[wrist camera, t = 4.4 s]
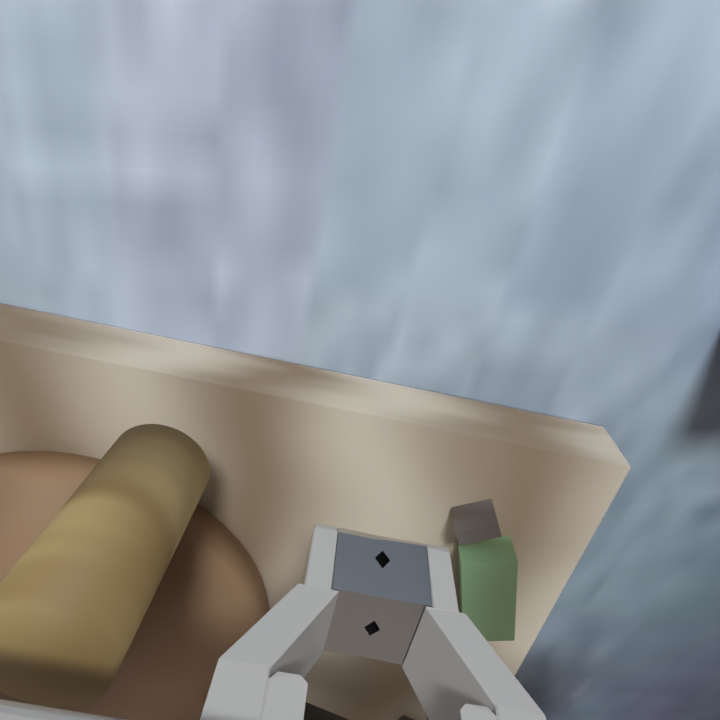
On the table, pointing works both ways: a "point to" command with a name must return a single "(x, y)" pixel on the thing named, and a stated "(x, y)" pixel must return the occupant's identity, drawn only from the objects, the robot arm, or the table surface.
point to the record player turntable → (331, 472)
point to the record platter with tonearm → (119, 580)
